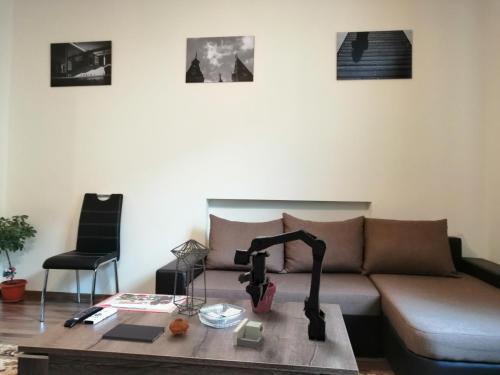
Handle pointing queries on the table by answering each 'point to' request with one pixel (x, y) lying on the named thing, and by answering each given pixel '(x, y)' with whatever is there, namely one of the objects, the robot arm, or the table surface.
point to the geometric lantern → (191, 271)
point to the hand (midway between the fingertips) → (258, 304)
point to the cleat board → (241, 332)
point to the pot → (178, 326)
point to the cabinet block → (253, 330)
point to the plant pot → (265, 299)
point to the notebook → (134, 332)
